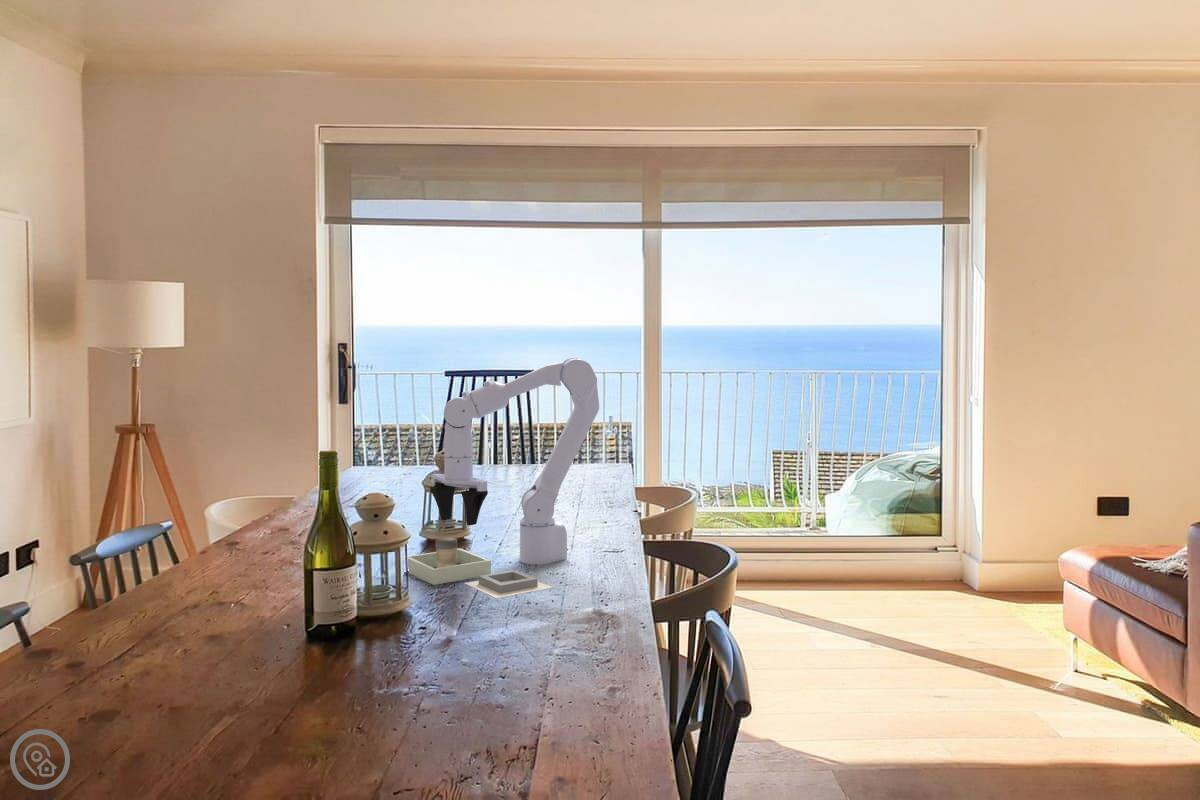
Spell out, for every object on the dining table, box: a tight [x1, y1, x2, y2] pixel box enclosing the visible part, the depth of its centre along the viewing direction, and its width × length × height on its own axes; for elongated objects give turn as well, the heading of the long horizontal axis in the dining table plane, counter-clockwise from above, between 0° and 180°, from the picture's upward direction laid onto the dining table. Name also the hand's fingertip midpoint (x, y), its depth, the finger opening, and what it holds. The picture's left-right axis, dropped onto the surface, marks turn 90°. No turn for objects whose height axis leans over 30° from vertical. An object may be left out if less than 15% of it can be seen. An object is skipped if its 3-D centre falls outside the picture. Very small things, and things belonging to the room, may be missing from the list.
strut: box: [434, 537, 458, 568], centre depth 183 cm, size 4×4×7 cm
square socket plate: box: [463, 569, 553, 599], centre depth 175 cm, size 12×12×3 cm
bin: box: [407, 548, 492, 586], centre depth 183 cm, size 12×12×4 cm
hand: (458, 522), depth 191 cm, fingers open, 7 cm apart
